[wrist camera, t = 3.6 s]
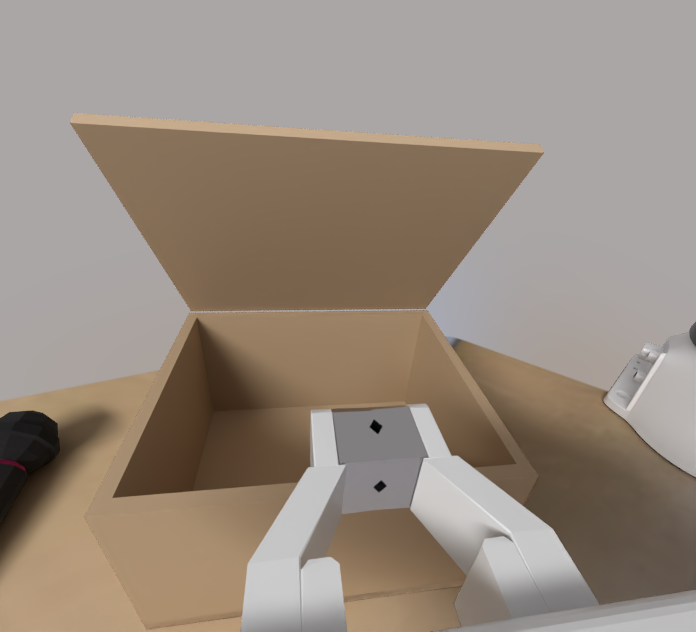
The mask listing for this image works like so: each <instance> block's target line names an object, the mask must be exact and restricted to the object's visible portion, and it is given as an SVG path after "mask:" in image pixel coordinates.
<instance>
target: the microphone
mask: <svg viewBox="0 0 696 632" xmlns="http://www.w3.org/2000/svg"><path fill="white" fill-rule="evenodd" d="M59 451H60V445H59V438H58V426H57V423H56V422H55V421H53V420H52V419H50V418H49V417H48V416H46V415H45V414H43V413H40V412H36V411H21V412H9V413H8V414H6V415H5V416H3V417H2V418H0V523H1V521H2V519H3V518H4V516H5V514H6V513H7V511H8V510H9V508H10V506H11V505H12V503H13V501H14V500H15V498H16V497H17V495H18V493H19V492H20V490H21V488H22V487H23V485H24V483H25V482H26V480H27V474H28V473H30V472H32V471H33V470H35V469H37V468H38V467H40V466H43V465H45V464H47V463H48V462H50V461H52V460H53V459H55V458H56V456H57V454H58V452H59Z"/></svg>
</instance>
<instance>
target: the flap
mask: <svg viewBox="0 0 696 632" xmlns="http://www.w3.org/2000/svg"><path fill="white" fill-rule="evenodd" d="M70 124H71V125H72V127H73V128H74V130H75V131H76V133H77V134H78V136H79V138H80V139H81V141H82V142H83V144H84V145H85V147H86V148H87V150H88V152H89V153H90V155H91V156H92V158H93V159H94V161H95V162H96V164H97V165H98V167H99V169H100V170H101V172H102V173H103V175H104V176H105V178H106V179H107V181H108V182H109V184H110V186H111V187H112V189H113V190H114V192H115V193H116V195H117V197H118V198H119V200H120V201H121V203H122V204H123V206H124V207H125V209H126V210H127V212H128V214H129V215H130V217H131V218H132V220H133V221H134V223H135V225H136V226H137V228H138V229H139V231H140V232H141V234H142V235H143V237H144V238H145V240H146V242H147V243H148V245H149V246H150V248H151V249H152V251H153V252H154V254H155V255H156V257H157V259H158V260H159V262H160V263H161V265H162V266H163V268H164V269H165V271H166V273H167V274H168V276H169V277H170V279H171V280H172V282H173V283H174V285H175V287H176V288H177V290H178V291H179V293H180V294H181V296H182V298H183V299H184V301H185V302H186V304H187V305H188V307H189V308H190V310H191V311H235V310H236V311H238V310H239V311H241V310H243V311H244V310H333V309H334V310H337V309H338V310H339V309H426V307H427V306H428V305H429V304H430V302H431V301H432V299H433V298H434V297H435V296H436V294H437V293H438V292H439V290H440V289H441V288H442V286H443V285H444V284H445V282H446V281H447V280H448V279H449V277H450V276H451V275H452V273H453V272H454V271H455V269H456V268H457V267H458V265H459V264H460V263H461V261H462V260H463V259H464V257H465V256H466V255H467V253H468V252H469V251H470V250H471V248H472V247H473V246H474V244H475V243H476V241H477V240H478V239H479V238H480V236H481V235H482V234H483V232H484V231H485V230H486V228H487V227H488V226H489V225H490V223H491V222H492V221H493V219H494V218H495V217H496V215H497V214H498V213H499V211H500V210H501V209H502V207H503V206H504V205H505V203H506V202H507V201H508V200H509V198H510V197H511V195H512V194H513V193H514V192H515V190H516V189H517V188H518V186H519V185H520V183H521V182H522V181H523V180H524V178H525V177H526V176H527V175H528V173H529V172H530V171H531V169H532V168H533V167H534V165H535V164H536V163H537V161H538V160H539V159H540V157H541V156H542V155H543V153H544V152H543V150H542V147H541V145H539V144H525V143H510V142H494V141H479V140H466V139H450V138H435V137H421V136H406V135H391V134H376V133H361V132H347V131H332V130H317V129H302V128H286V127H271V126H257V125H243V124H228V123H213V122H198V121H183V120H167V119H153V118H138V117H123V116H108V115H93V114H79V113H74V114H73V116H72V119H71V122H70Z"/></svg>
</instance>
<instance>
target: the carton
mask: <svg viewBox="0 0 696 632" xmlns="http://www.w3.org/2000/svg"><path fill="white" fill-rule="evenodd" d="M410 404H426V405H428V406H429V409H430V411H431V413H432V415H433V417H434V419H435V421H436V423H437V426H438V428H439V430H440V432H441V434H442V436H443V438H444V440H445V443H446V445H447V447H448V449H449V451H450V453H451V455H452V456H459V457H460V458H461V459H463V460H464V461H465V462H467V463H468V464H469V465H471V466H472V467H473V468H474V469H476V470H477V471H478V472H480V473H481V474H482V475H484V476H485V477H486V478H487V479H489V480H490V481H491V482H493V483H494V484H495V485H496V486H498V487H499V488H500V489H502V490H503V491H504V492H506V493H507V494H508V495H509V496H511V497H512V498H513V499H515V500H516V501H517V502H519V503H520V504H521V505H522V506H523V504H524V503H525V501H526V499H527V497H528V495H529V493H530V491H531V490H532V488H533V486H534V484H535V482H536V480H537V478H538V477H539V475H538V474H537V472H536V471H535V469H534V468H533V466H532V465H531V463H530V462H529V460H528V459H527V458H526V456H525V455H524V453H523V452H522V450H521V449H520V447H519V446H518V444H517V443H516V441H515V440H514V438H513V437H512V435H511V434H510V432H509V431H508V429H507V428H506V426H505V425H504V423H503V422H502V420H501V419H500V417H499V416H498V415H497V413H496V412H495V410H494V409H493V407H492V406H491V404H490V403H489V401H488V400H487V398H486V397H485V395H484V394H483V392H482V391H481V389H480V388H479V386H478V385H477V383H476V382H475V380H474V379H473V377H472V376H471V375H470V373H469V372H468V370H467V369H466V367H465V366H464V364H463V363H462V361H461V360H460V358H459V357H458V355H457V354H456V352H455V351H454V349H453V348H452V346H451V345H450V343H449V342H448V340H447V339H446V337H445V336H444V334H443V333H442V332H441V330H440V329H439V327H438V326H437V324H436V323H435V322H434V320H433V318H432V317H431V315H430V314H429V312H428V311H427V310H419V311H417V310H416V311H415V310H414V311H329V312H328V311H327V312H326V311H325V312H241V313H240V312H239V313H238V312H236V313H189V314H188V316H187V318H186V320H185V322H184V324H183V326H182V328H181V330H180V332H179V334H178V336H177V338H176V340H175V342H174V343H173V345H172V347H171V349H170V351H169V353H168V355H167V357H166V359H165V361H164V363H163V365H162V367H161V369H160V371H159V373H158V374H157V376H156V378H155V380H154V382H153V384H152V386H151V388H150V390H149V392H148V394H147V396H146V398H145V400H144V402H143V404H142V406H141V407H140V409H139V411H138V413H137V415H136V417H135V419H134V421H133V423H132V425H131V427H130V429H129V431H128V433H127V435H126V437H125V439H124V440H123V442H122V444H121V446H120V448H119V450H118V452H117V454H116V456H115V458H114V460H113V462H112V464H111V466H110V468H109V470H108V472H107V473H106V475H105V477H104V479H103V481H102V483H101V485H100V487H99V489H98V491H97V493H96V495H95V497H94V499H93V501H92V503H91V505H90V506H89V508H88V510H87V512H86V514H85V516H84V518H85V520H86V522H87V523H88V525H89V527H90V529H91V531H92V532H93V534H94V536H95V538H96V540H97V541H98V543H99V545H100V547H101V549H102V550H103V552H104V554H105V556H106V558H107V559H108V561H109V563H110V565H111V567H112V568H113V570H114V572H115V574H116V576H117V577H118V579H119V581H120V583H121V585H122V586H123V588H124V590H125V592H126V594H127V595H128V597H129V599H130V601H131V603H132V604H133V606H134V608H135V610H136V612H137V613H138V615H139V617H140V619H141V621H142V622H143V624H144V626H145V628H146V629H153V628H160V627H167V626H174V625H182V624H189V623H196V622H203V621H211V620H218V619H225V618H232V617H240V616H242V613H243V603H244V594H245V584H246V574H247V565H248V563H249V561H250V559H251V558H252V556H253V555H254V553H255V551H256V550H257V548H258V547H259V545H260V543H261V542H262V540H263V539H264V537H265V535H266V534H267V532H268V531H269V529H270V527H271V526H272V524H273V523H274V521H275V519H276V518H277V516H278V515H279V513H280V511H281V510H282V508H283V506H284V505H285V503H286V502H287V500H288V498H289V497H290V495H291V494H292V492H293V490H294V489H295V487H296V486H297V484H298V482H299V481H300V479H301V478H302V476H303V474H304V473H305V471H306V470H307V468H308V467H310V415H311V410H316V409H336V408H369V407H379V406H394V405H410ZM410 508H411V507H410ZM410 508H396V509H382V510H371V511H364V512H356V513H348V514H342V517H341V520H340V522H339V525H338V527H337V529H336V532H335V534H334V537H333V539H332V542H331V544H330V546H329V549H328V551H327V554H326V556H325V557H332V558H333V559H334V560H336V561H337V562H338V563H339V564H340V573H341V582H342V591H343V599H344V602H348V601H355V600H363V599H370V598H377V597H384V596H392V595H399V594H406V593H413V592H421V591H428V590H435V589H442V588H450V587H457V586H462V585H463V583H464V581H465V579H466V577H467V575H466V574H465V573H464V572H463V571H462V570H461V568H460V567H459V566H458V565H457V564H456V563H455V561H454V560H453V559H452V558H451V557H450V556H449V554H448V553H447V552H446V551H445V550H444V549H443V547H442V546H441V545H440V544H439V543H438V542H437V540H436V539H435V538H434V537H433V536H432V534H431V533H430V532H429V531H428V530H427V529H426V527H425V526H424V525H423V524H422V523H421V522H420V520H419V519H418V518H417V517H416V516H415V515H414V513H413V512H412V511H411V510H410Z"/></svg>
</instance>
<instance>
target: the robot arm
mask: <svg viewBox="0 0 696 632" xmlns="http://www.w3.org/2000/svg"><path fill="white" fill-rule="evenodd" d="M603 401H604V403H605V404H606V405H607V406H608V407H609V408H610V409H612V410H613V411H614V412H615V413H617V414H618V415H619V416H621V417H622V418H624V419H625V420H626V421H627V422H628V423H629V424H630V425H631V426H632V427H633V428H634V430H635V431H636V432H637V433H638V434H639V435H640V436H641V438H642V439H643V440H644V441H645V442H646V443H648V444H649V445H650V446H651V447H652V448H653V449H654V450H655V451H657V452H658V453H659V454H660V455H662V456H663V457H664V458H666V459H667V460H669V461H670V462H671V463H673V464H674V465H676V466H677V467H679V468H681V469H682V470H684V471H685V472H687V473H689V474H691V475H692V476H694V477H696V322H695V323H694V324H693V326H692V327H691V328H690V331H689V332H686V333H683V334H679V335H675V336H671V337H669V338H668V339H667V341H666V342H665V344H664V345H663V347H659V346H657V345H655V344H652V343H650V342H646V344H645V345H644V347H643V349H642V351H641V352H640V354H636V355H634V356H633V358H632V359H631V360H630V361H629V363H628V364H627V366H626V367H625V369H624V370H623V371H622V373H621V375H620V376H619V377H618V379H617V380H616V382H615V383H614V384H613V386H612V387H611V389H610V390H609V392H608V393H607V395H606V396H605V397H604V399H603ZM410 507H411V508H410ZM396 508H410V510H411V511H412V512H413V513H414V515H415V516H416V517H417V518H418V519H419V520H420V522H421V523H422V524H423V525H424V526H425V527H426V529H427V530H428V531H429V532H430V533H431V534H432V536H433V537H434V538H435V539H436V540H437V542H438V543H439V544H440V545H441V546H442V547H443V549H444V550H445V551H446V552H447V553H448V554H449V556H450V557H451V558H452V559H453V560H454V561H455V563H456V564H457V565H458V566H459V567H460V568H461V570H462V571H463V572H464V573H465V574H466V575H467V577H466V579H465V581H464V583H463V585H462V587H461V590H460V592H459V594H458V596H457V598H456V600H455V602H454V606H455V609H456V612H457V615H458V618H459V621H460V624H461V627H457V628H450V629H444V630H438V631H431V632H696V590H690V591H683V592H677V593H671V594H664V595H658V596H652V597H646V598H639V599H633V600H627V601H620V602H614V603H608V604H601V605H600V604H599V602H598V601H597V599H596V597H595V596H594V594H593V593H592V591H591V589H590V588H589V586H588V585H587V583H586V581H585V580H584V578H583V577H582V575H581V573H580V572H579V570H578V569H577V567H576V565H575V564H574V562H573V561H572V559H571V557H570V556H569V554H568V553H567V551H566V549H565V548H564V546H563V545H562V543H561V541H560V540H559V538H558V536H557V535H556V533H555V532H554V530H553V529H552V528H551V527H550V526H548V525H547V524H546V523H544V522H543V521H542V520H541V519H539V518H538V517H537V516H535V515H534V514H533V513H531V512H530V511H529V510H528V509H526V508H525V507H524V506H522V505H521V504H520V503H519V502H517V501H516V500H515V499H513V498H512V497H511V496H509V495H508V494H507V493H506V492H504V491H503V490H502V489H500V488H499V487H498V486H496V485H495V484H494V483H493V482H491V481H490V480H489V479H487V478H486V477H485V476H484V475H482V474H481V473H480V472H478V471H477V470H476V469H474V468H473V467H472V466H471V465H469V464H468V463H467V462H465V461H464V460H463V459H461V458H460V457H459V456H452V455H451V453H450V451H449V449H448V447H447V445H446V443H445V440H444V438H443V436H442V434H441V432H440V430H439V428H438V426H437V423H436V421H435V419H434V417H433V415H432V413H431V411H430V409H429V406H428V405H426V404H410V405H394V406H379V407H369V408H336V409H316V410H311V415H310V467H308V468H307V470H306V471H305V473H304V474H303V476H302V478H301V479H300V481H299V482H298V484H297V486H296V487H295V489H294V490H293V492H292V494H291V495H290V497H289V498H288V500H287V502H286V503H285V505H284V506H283V508H282V510H281V511H280V513H279V515H278V516H277V518H276V519H275V521H274V523H273V524H272V526H271V527H270V529H269V531H268V532H267V534H266V535H265V537H264V539H263V540H262V542H261V543H260V545H259V547H258V548H257V550H256V551H255V553H254V555H253V556H252V558H251V559H250V561H249V563H248V565H247V574H246V584H245V594H244V603H243V613H242V622H241V632H347V626H346V617H345V608H344V599H343V591H342V582H341V573H340V564H339V563H338V562H337V561H336V560H334V559H333V558H332V557H325V556H326V554H327V551H328V549H329V546H330V544H331V542H332V539H333V537H334V534H335V532H336V529H337V527H338V525H339V522H340V520H341V517H342V514H348V513H356V512H364V511H371V510H382V509H396Z"/></svg>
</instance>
